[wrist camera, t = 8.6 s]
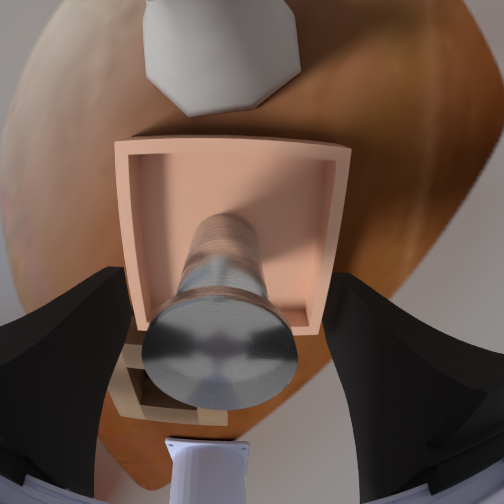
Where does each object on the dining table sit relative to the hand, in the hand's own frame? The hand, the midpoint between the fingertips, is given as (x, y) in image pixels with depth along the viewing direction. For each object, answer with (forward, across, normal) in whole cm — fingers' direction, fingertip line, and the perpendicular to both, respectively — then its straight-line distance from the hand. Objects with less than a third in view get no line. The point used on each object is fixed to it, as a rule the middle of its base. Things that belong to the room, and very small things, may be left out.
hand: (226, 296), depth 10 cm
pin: (+5, 0, 0) cm, 5 cm away
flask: (+6, +1, -9) cm, 11 cm away
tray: (+5, 0, 0) cm, 5 cm away
